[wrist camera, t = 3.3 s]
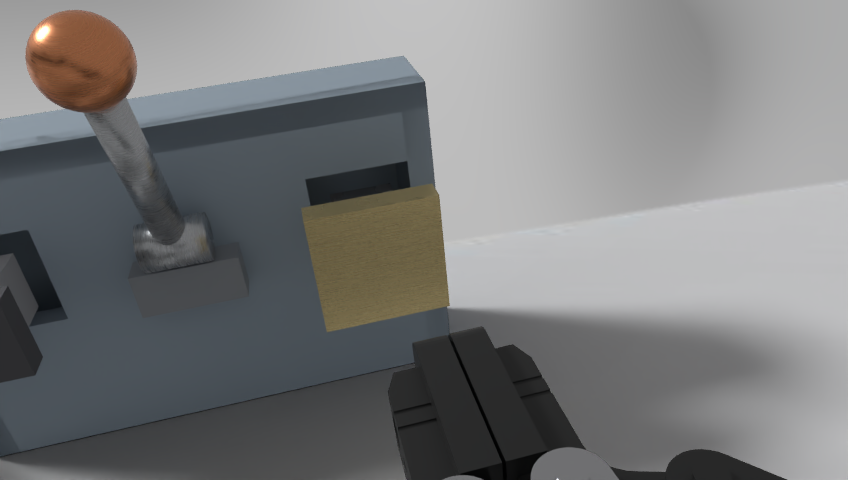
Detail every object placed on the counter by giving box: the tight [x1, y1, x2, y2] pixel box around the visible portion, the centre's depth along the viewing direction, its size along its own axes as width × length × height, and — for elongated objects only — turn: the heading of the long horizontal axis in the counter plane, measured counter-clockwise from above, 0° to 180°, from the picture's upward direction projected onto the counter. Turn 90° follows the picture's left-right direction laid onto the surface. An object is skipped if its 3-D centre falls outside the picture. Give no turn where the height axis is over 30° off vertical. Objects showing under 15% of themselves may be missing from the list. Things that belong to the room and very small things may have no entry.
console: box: [0, 56, 450, 456], centre depth 28 cm, size 20×5×13 cm, turn 103°
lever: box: [26, 10, 215, 273], centre depth 21 cm, size 3×3×10 cm
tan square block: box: [301, 183, 450, 332], centre depth 25 cm, size 5×4×5 cm
